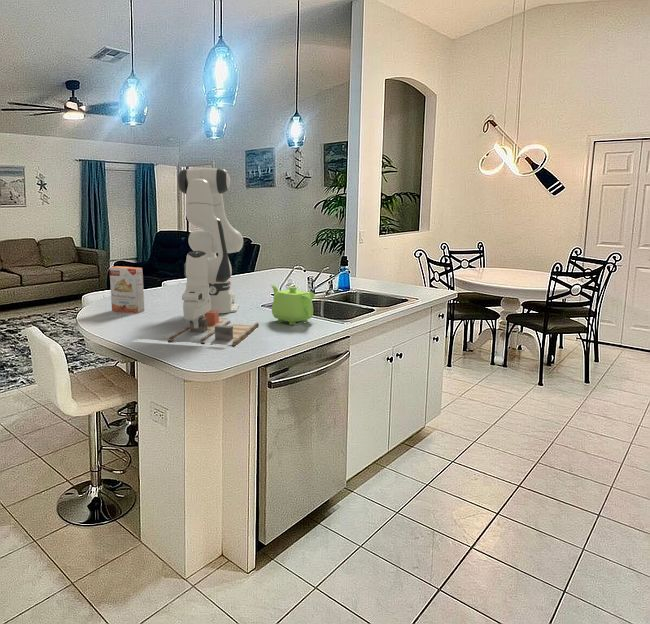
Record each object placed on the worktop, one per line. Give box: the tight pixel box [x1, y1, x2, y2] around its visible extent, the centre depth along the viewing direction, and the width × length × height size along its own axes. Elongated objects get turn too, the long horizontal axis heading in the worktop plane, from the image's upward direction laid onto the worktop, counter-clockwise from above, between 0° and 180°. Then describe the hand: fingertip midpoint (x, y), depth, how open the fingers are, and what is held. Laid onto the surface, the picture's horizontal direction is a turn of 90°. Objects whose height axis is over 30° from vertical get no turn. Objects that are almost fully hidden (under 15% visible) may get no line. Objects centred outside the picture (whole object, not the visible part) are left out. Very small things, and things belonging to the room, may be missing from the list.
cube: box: [204, 310, 220, 325], centre depth 232 cm, size 5×5×5 cm
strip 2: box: [212, 324, 252, 342], centre depth 218 cm, size 26×8×6 cm, turn 171°
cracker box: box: [109, 265, 145, 314], centre depth 256 cm, size 14×6×21 cm, turn 76°
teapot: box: [270, 284, 316, 326], centre depth 246 cm, size 25×22×16 cm
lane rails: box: [168, 320, 260, 347], centre depth 219 cm, size 32×26×2 cm
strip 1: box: [187, 317, 228, 334], centre depth 229 cm, size 26×8×6 cm, turn 171°
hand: (198, 326), depth 219 cm, fingers closed on strip 1, 3 cm apart
